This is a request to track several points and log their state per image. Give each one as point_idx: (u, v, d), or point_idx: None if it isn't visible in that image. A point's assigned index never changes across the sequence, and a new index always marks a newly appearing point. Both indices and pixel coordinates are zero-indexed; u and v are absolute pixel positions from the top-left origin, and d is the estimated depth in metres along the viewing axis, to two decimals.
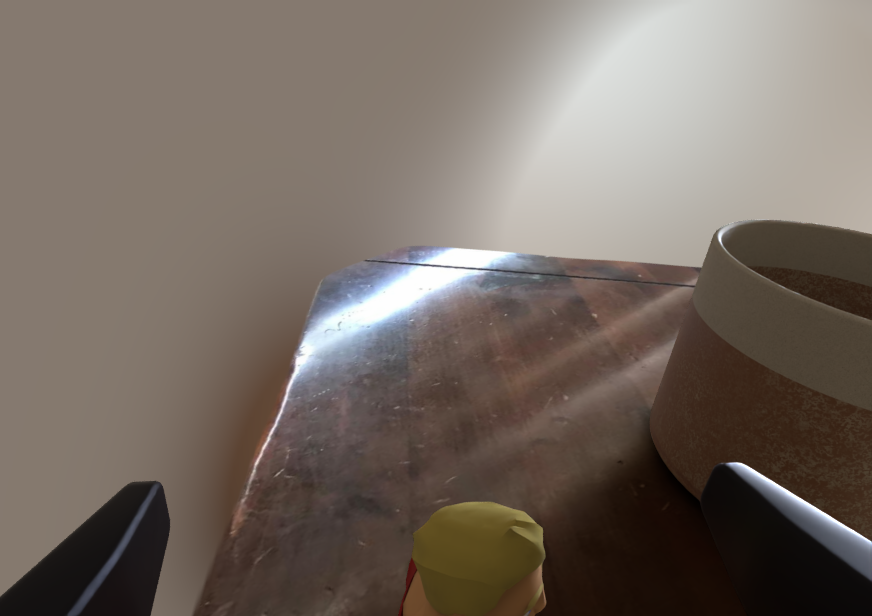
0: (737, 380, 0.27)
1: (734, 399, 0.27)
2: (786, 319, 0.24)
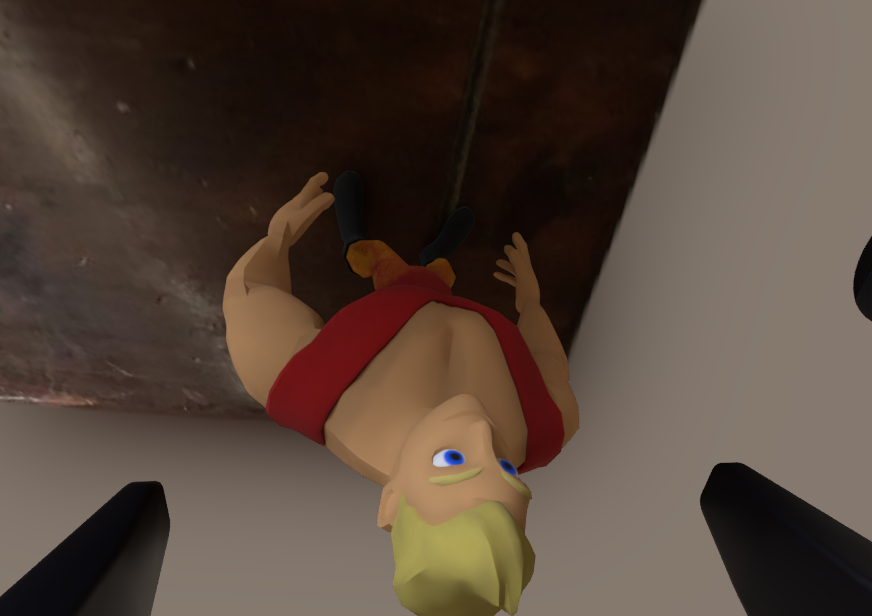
0: None
1: None
2: None
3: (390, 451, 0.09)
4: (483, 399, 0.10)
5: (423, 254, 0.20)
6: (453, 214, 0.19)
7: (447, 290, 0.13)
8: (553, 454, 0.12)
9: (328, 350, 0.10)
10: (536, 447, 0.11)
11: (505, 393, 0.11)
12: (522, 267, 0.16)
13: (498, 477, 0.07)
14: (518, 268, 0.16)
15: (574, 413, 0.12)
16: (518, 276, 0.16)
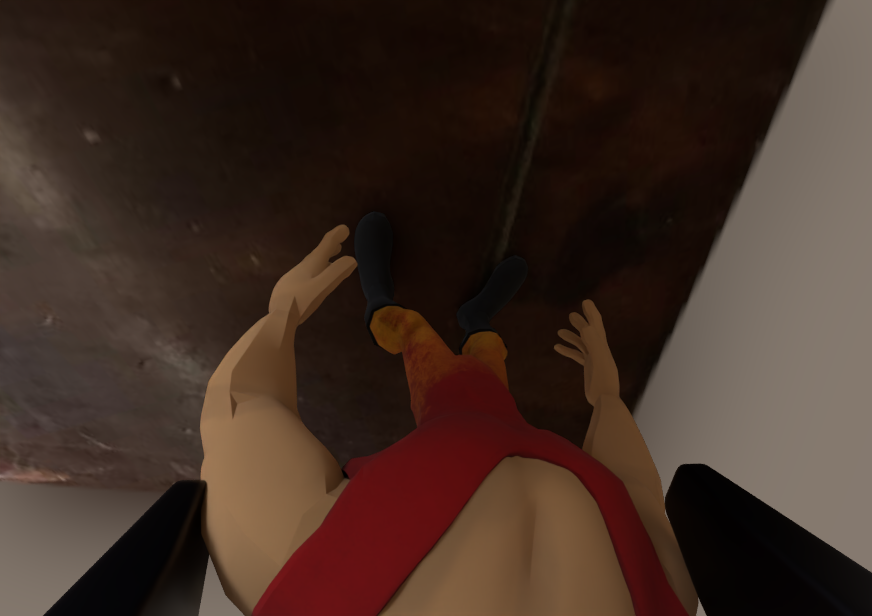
0: None
1: None
2: None
3: None
4: None
5: (463, 313, 0.16)
6: (501, 265, 0.16)
7: (512, 405, 0.09)
8: None
9: (345, 546, 0.07)
10: None
11: (616, 608, 0.07)
12: (599, 351, 0.12)
13: None
14: (594, 352, 0.12)
15: (697, 598, 0.08)
16: (593, 362, 0.12)
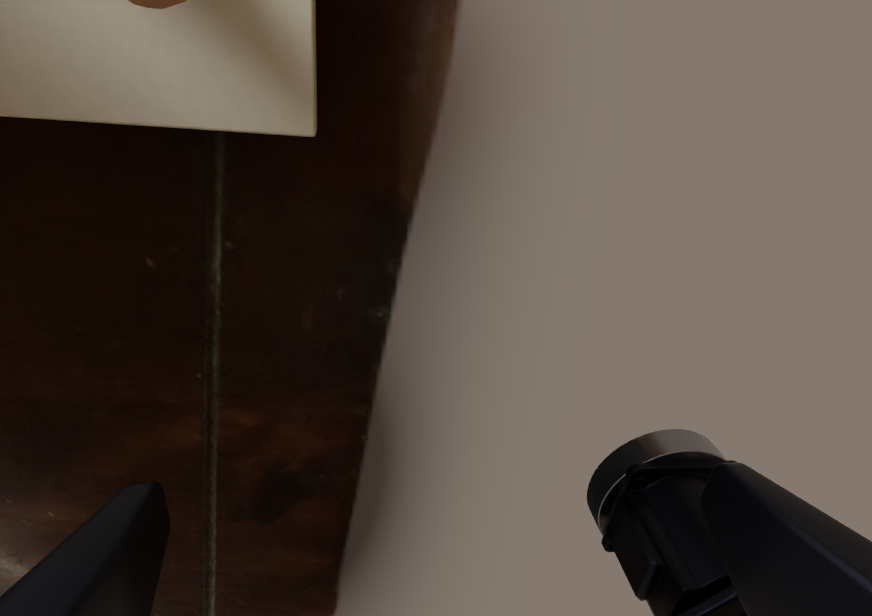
0: None
1: None
2: None
3: None
4: None
5: None
6: None
7: None
8: None
9: None
10: None
11: None
12: None
13: None
14: None
15: None
16: None
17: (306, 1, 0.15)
